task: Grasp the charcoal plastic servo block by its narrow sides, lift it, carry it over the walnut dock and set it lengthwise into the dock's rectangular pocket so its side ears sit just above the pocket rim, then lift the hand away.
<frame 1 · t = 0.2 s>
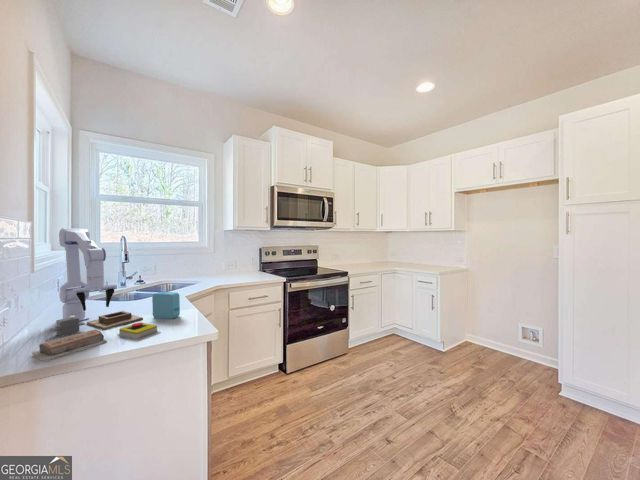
hand: (96, 308, 118), 10 cm above the worktop, tool pointing down, fingers open, 7 cm apart
packaged product: (71, 350, 100), on the worktop
servo block: (68, 333, 116), on the worktop
emergency button: (139, 335, 115), on the worktop
dock: (115, 321, 130), on the worktop
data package: (166, 317, 137), on the worktop
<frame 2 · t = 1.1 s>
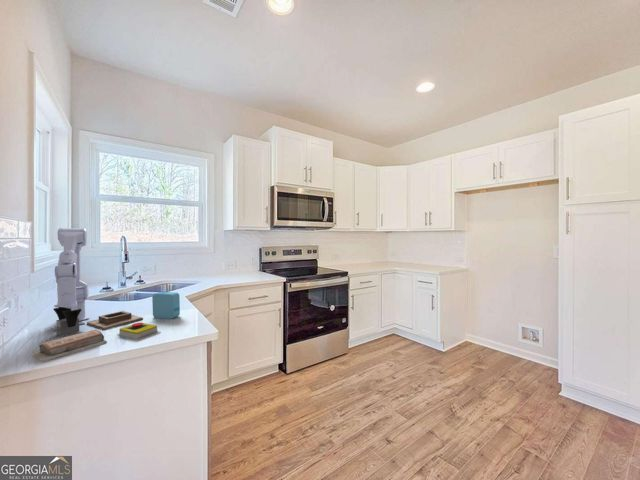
hand: (67, 325, 116), 3 cm above the worktop, tool pointing down, fingers open, 7 cm apart
nothing on the worktop moved.
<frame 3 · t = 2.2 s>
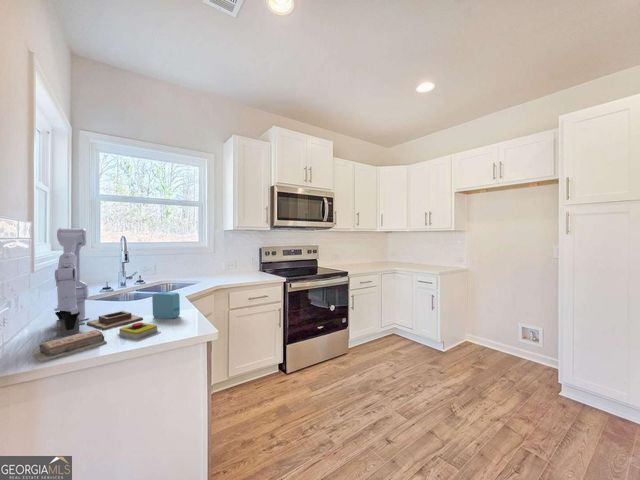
hand: (68, 328, 116), 2 cm above the worktop, tool pointing down, fingers closed on servo block, 4 cm apart
servo block: (68, 333, 116), on the worktop, touching gripper
everything else where it was.
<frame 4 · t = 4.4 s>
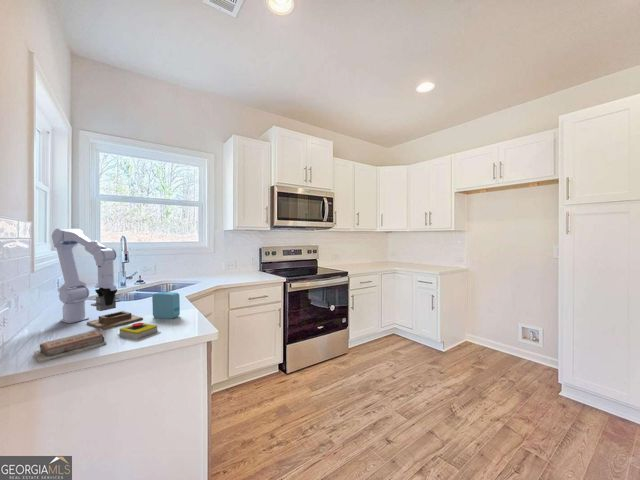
hand: (106, 304, 127), 9 cm above the worktop, tool pointing down, fingers closed on servo block, 4 cm apart
servo block: (106, 308, 127), point 7 cm above the worktop, touching gripper
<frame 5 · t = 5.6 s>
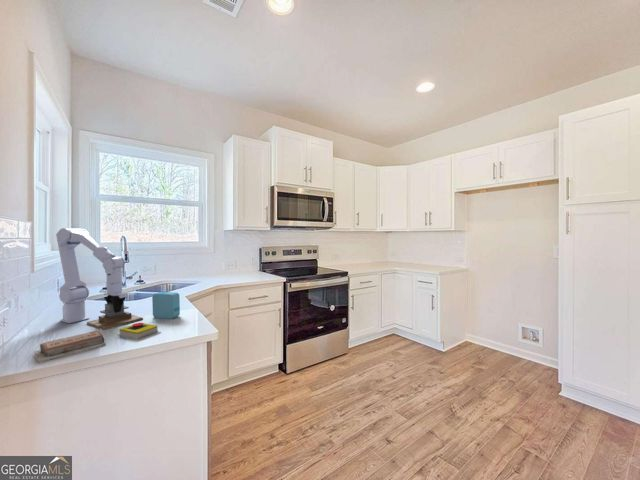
hand: (115, 311, 130), 5 cm above the worktop, tool pointing down, fingers closed on servo block, 4 cm apart
servo block: (114, 315, 130), point 3 cm above the worktop, touching gripper
when the fingers open (4 cm above the worktop, at t = 6.6 s): servo block drops 1 cm, resting on dock.
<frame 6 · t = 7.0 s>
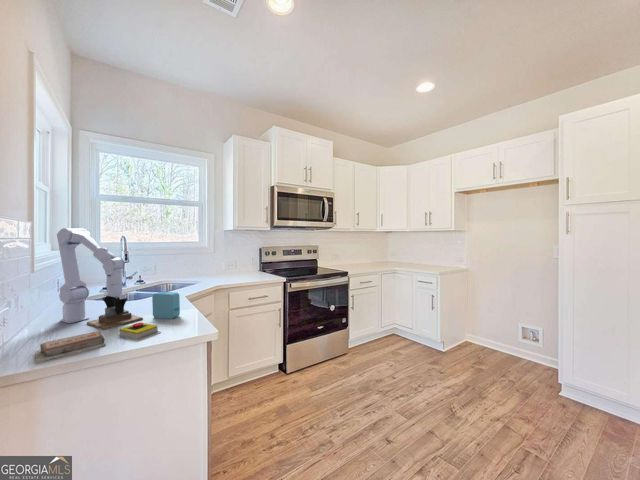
hand: (115, 312, 130), 4 cm above the worktop, tool pointing down, fingers open, 7 cm apart
servo block: (114, 319, 130), point 1 cm above the worktop, touching dock
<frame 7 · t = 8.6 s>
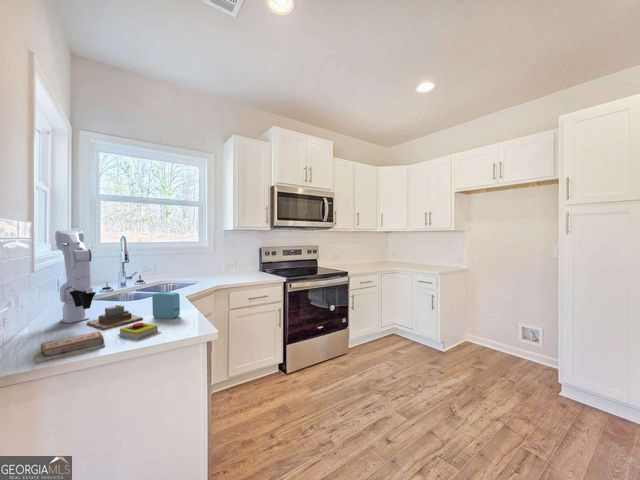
hand: (82, 307, 122), 9 cm above the worktop, tool pointing down, fingers open, 7 cm apart
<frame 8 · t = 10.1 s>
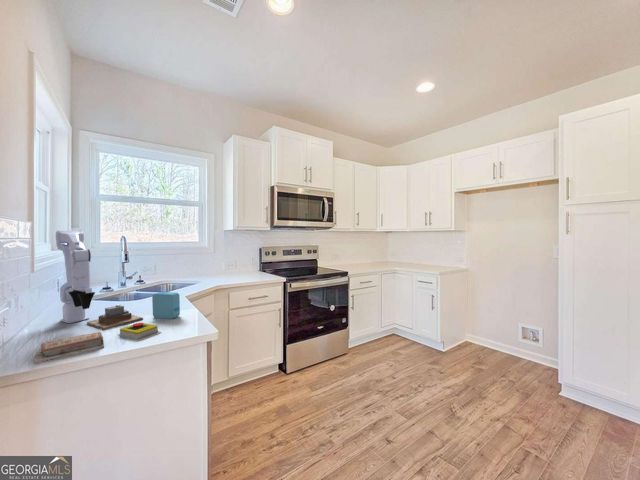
hand: (82, 307, 122), 9 cm above the worktop, tool pointing down, fingers open, 7 cm apart
at the end: servo block 0.2 cm off-centre on the dock, point 1.0 cm above the dock's base; servo block tilted 0°; the gripper is holding nothing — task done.
